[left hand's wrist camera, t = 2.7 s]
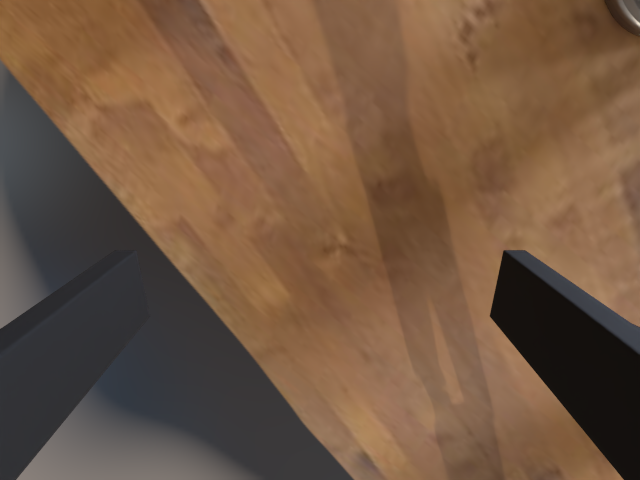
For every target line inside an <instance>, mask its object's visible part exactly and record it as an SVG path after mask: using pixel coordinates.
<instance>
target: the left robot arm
mask: <svg viewBox="0 0 640 480" xmlns="http://www.w3.org/2000/svg"><path fill="white" fill-rule="evenodd" d="M605 2H606V4H607V7H608V9H609V11H610V12H611V14H612V16H613V17H614V18H615V20H616V21H617V22H618V23H619V24H620V25H621V26H622V27H623V28H625V29H626V30H627V31H629V32H631V33H633V34H635V35H638V36H640V0H605ZM149 317H150V313H149V308H148V304H147V299H146V294H145V289H144V285H143V280H142V275H141V270H140V266H139V261H138V256H137V252H136V250H115V251H113V252H112V253H110V254H109V255H107V256H106V257H105V258H103V259H102V260H100V261H99V262H97V263H96V264H94V265H93V266H92V267H90V268H89V269H87V270H86V271H84V272H83V273H81V274H80V275H78V276H77V277H76V278H74V279H73V280H71V281H70V282H68V283H67V284H65V285H64V286H62V287H61V288H60V289H58V290H57V291H55V292H54V293H52V294H51V295H49V296H48V297H46V298H45V299H44V300H42V301H41V302H39V303H38V304H36V305H35V306H33V307H32V308H30V309H29V310H28V311H26V312H25V313H23V314H22V315H20V316H19V317H17V318H16V319H15V320H13V321H12V322H10V323H9V324H7V325H6V326H4V327H3V328H1V329H0V480H16V479H17V478H18V477H19V475H20V474H21V473H22V472H23V471H24V469H25V468H26V467H27V466H28V464H29V463H30V462H31V461H32V459H33V458H34V457H35V456H36V455H37V453H38V452H39V451H40V450H41V449H42V447H43V446H44V445H45V444H46V442H47V441H48V440H49V439H50V438H51V436H52V435H53V434H54V433H55V432H56V430H57V429H58V428H59V427H60V425H61V424H62V423H63V422H64V421H65V419H66V418H67V417H68V416H69V414H70V413H71V412H72V411H73V410H74V408H75V407H76V406H77V405H78V404H79V402H80V401H81V400H82V399H83V397H84V396H85V395H86V394H87V393H88V391H89V390H90V389H91V388H92V386H93V385H94V384H95V383H96V382H97V380H98V379H99V378H100V377H101V375H102V374H103V373H104V372H105V371H106V369H107V368H108V367H109V366H110V365H111V363H112V362H113V361H114V360H115V358H116V357H117V356H118V355H119V354H120V352H121V351H122V350H123V349H124V347H125V346H126V345H127V344H128V343H129V341H130V340H131V339H132V338H133V336H134V335H135V334H136V333H137V332H138V330H139V329H140V328H141V327H142V326H143V324H144V323H145V322H146V321H147V319H148V318H149ZM490 317H491V318H492V319H493V321H494V322H495V323H496V324H497V326H498V327H499V328H500V329H501V330H502V332H503V333H504V334H505V335H506V336H507V338H508V339H509V340H510V341H511V343H512V344H513V345H514V346H515V347H516V349H517V350H518V351H519V352H520V354H521V355H522V356H523V357H524V358H525V360H526V361H527V362H528V363H529V365H530V366H531V367H532V368H533V369H534V371H535V372H536V373H537V374H538V375H539V377H540V378H541V379H542V380H543V382H544V383H545V384H546V385H547V386H548V388H549V389H550V390H551V391H552V393H553V394H554V395H555V396H556V397H557V399H558V400H559V401H560V402H561V404H562V405H563V406H564V407H565V408H566V410H567V411H568V412H569V413H570V414H571V416H572V417H573V418H574V419H575V421H576V422H577V423H578V424H579V425H580V427H581V428H582V429H583V430H584V432H585V433H586V434H587V435H588V436H589V438H590V439H591V440H592V441H593V443H594V444H595V445H596V446H597V447H598V449H599V450H600V451H601V452H602V453H603V455H604V456H605V457H606V458H607V460H608V461H609V462H610V463H611V464H612V466H613V467H614V468H615V469H616V471H617V472H618V473H619V474H620V475H621V477H622V478H623V479H624V480H640V327H638V326H636V325H634V324H632V323H630V322H628V321H627V320H626V319H624V318H623V317H621V316H620V315H618V314H617V313H615V312H614V311H612V310H611V309H610V308H608V307H607V306H605V305H604V304H602V303H601V302H599V301H598V300H596V299H595V298H594V297H592V296H591V295H589V294H588V293H586V292H585V291H583V290H582V289H580V288H579V287H578V286H576V285H575V284H573V283H572V282H570V281H569V280H567V279H566V278H565V277H563V276H562V275H560V274H559V273H557V272H556V271H554V270H553V269H551V268H550V267H549V266H547V265H546V264H544V263H543V262H541V261H540V260H538V259H537V258H535V257H534V256H533V255H531V254H530V253H528V252H527V251H525V250H504V251H503V256H502V261H501V266H500V270H499V275H498V280H497V285H496V289H495V294H494V299H493V304H492V308H491V313H490Z"/></svg>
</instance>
